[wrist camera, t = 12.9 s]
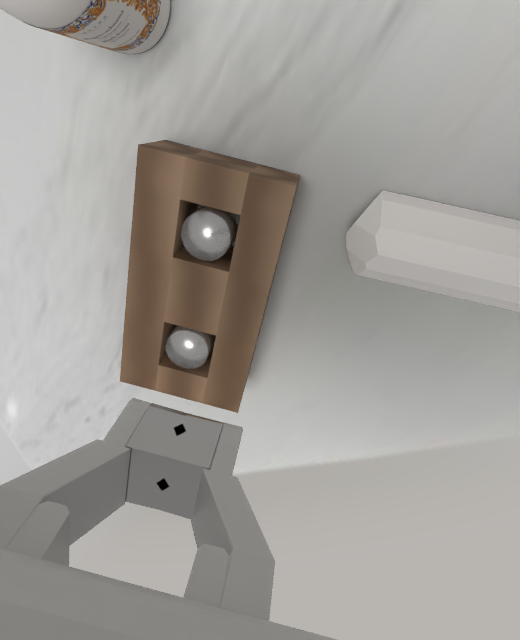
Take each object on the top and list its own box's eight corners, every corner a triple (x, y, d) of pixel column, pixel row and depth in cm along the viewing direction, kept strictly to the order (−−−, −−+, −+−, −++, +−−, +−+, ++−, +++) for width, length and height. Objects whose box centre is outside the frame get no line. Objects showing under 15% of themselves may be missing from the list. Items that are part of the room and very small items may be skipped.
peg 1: (246, 204, 37) (234, 218, 32) (237, 246, 38) (225, 266, 33) (203, 192, 37) (184, 205, 32) (196, 235, 39) (178, 253, 33)
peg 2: (224, 310, 42) (211, 337, 37) (217, 343, 44) (204, 373, 39) (186, 300, 42) (168, 326, 37) (181, 333, 44) (163, 362, 39)
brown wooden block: (300, 175, 35) (296, 186, 30) (247, 377, 45) (237, 412, 40) (165, 140, 35) (138, 144, 30) (143, 349, 46) (119, 381, 40)
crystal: (328, 297, 36) (600, 360, 35) (351, 241, 30) (680, 316, 29) (337, 237, 40) (581, 293, 39) (359, 177, 34) (649, 241, 33)
